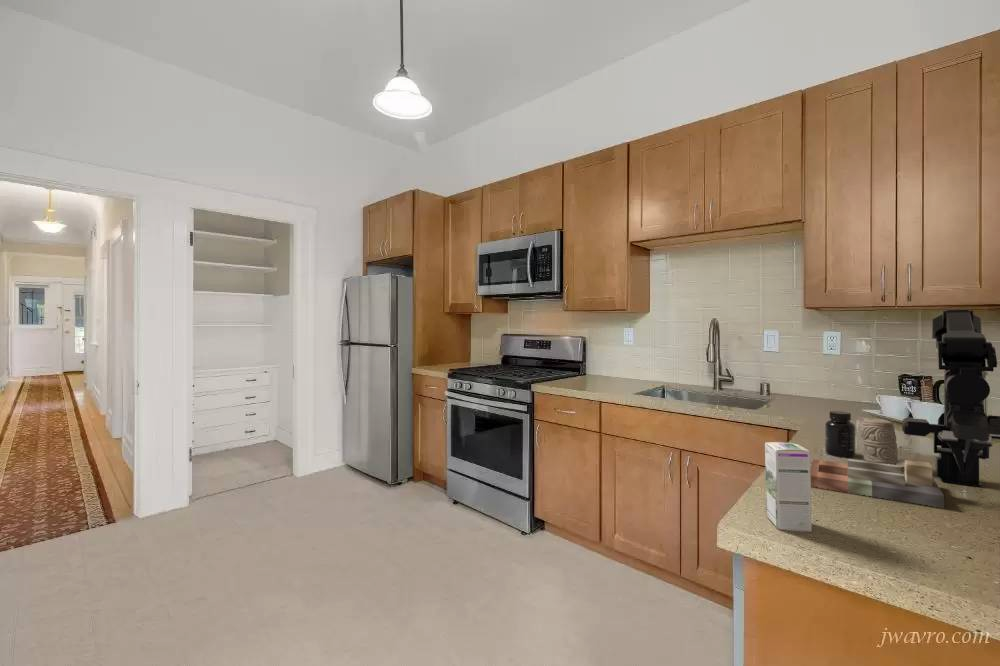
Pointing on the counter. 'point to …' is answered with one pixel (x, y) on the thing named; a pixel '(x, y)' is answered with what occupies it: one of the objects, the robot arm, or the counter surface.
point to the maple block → (918, 473)
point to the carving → (879, 441)
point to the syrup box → (788, 486)
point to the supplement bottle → (840, 435)
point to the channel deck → (873, 481)
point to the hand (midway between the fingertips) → (963, 473)
